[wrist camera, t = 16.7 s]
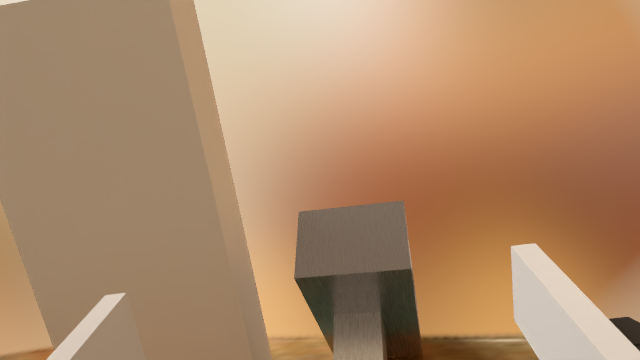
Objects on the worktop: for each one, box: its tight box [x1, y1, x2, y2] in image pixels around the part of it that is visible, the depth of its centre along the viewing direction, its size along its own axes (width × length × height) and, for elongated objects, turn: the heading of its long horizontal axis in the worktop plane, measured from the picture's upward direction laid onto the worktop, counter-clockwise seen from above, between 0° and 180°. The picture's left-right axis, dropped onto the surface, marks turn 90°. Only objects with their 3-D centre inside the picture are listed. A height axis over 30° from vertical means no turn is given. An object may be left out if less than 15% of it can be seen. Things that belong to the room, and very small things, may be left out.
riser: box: [0, 0, 272, 360], centre depth 33 cm, size 5×14×30 cm, turn 87°
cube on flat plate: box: [294, 201, 423, 360], centre depth 32 cm, size 13×14×7 cm
